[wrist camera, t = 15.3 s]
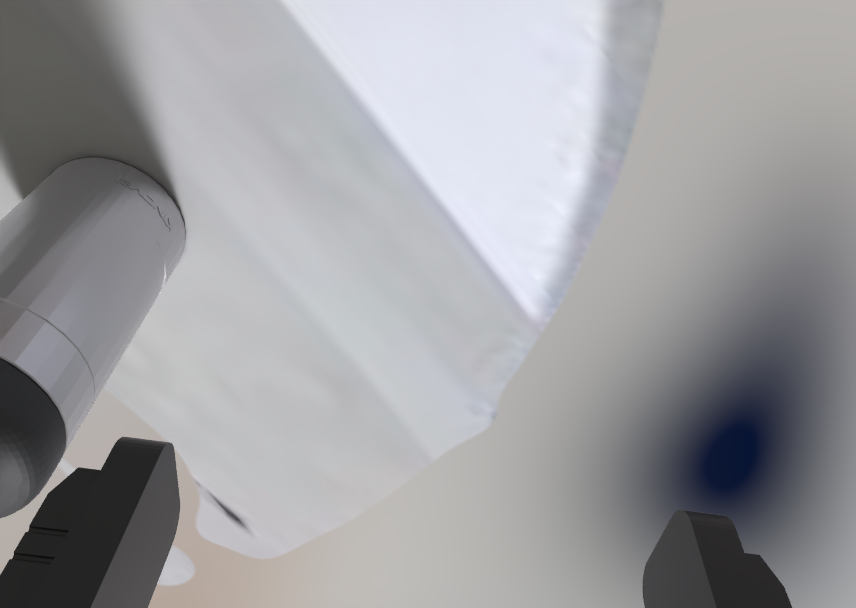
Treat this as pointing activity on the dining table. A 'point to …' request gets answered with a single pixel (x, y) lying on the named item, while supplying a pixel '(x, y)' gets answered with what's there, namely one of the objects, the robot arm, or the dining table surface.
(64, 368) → the robot arm
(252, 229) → the dining table surface
